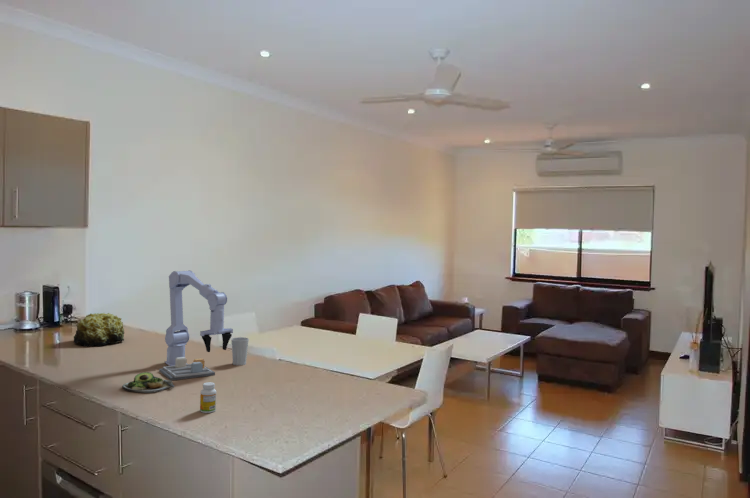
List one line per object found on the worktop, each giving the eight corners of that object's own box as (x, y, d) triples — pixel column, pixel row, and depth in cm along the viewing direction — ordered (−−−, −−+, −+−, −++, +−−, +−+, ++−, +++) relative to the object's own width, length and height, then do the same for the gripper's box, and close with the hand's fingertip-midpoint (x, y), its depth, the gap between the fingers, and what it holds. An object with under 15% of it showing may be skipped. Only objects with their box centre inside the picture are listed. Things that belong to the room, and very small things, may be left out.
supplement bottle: (201, 408, 200) (202, 381, 200) (217, 408, 200) (218, 381, 200) (198, 413, 194) (199, 385, 194) (214, 413, 195) (215, 385, 195)
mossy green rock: (109, 336, 318) (110, 309, 318) (132, 342, 304) (133, 314, 304) (64, 342, 298) (64, 313, 297) (87, 349, 284) (87, 318, 283)
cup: (243, 366, 262) (244, 341, 262) (227, 364, 264) (228, 339, 263) (250, 362, 270) (251, 338, 270) (235, 361, 271) (236, 336, 271)
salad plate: (186, 385, 229) (186, 374, 229) (157, 397, 212) (157, 385, 211) (147, 379, 234) (147, 368, 234) (115, 390, 217) (116, 379, 217)
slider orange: (193, 369, 248) (193, 358, 248) (201, 368, 251) (202, 358, 251) (195, 370, 246) (195, 360, 246) (204, 369, 248) (204, 359, 248)
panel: (159, 371, 247) (159, 366, 247) (201, 366, 258) (201, 362, 258) (171, 380, 233) (171, 376, 233) (215, 375, 244) (215, 370, 244)
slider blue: (190, 373, 242) (191, 362, 242) (199, 371, 244) (200, 361, 244) (193, 374, 239) (193, 364, 239) (202, 373, 242) (202, 363, 242)
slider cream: (175, 367, 250) (175, 357, 249) (184, 366, 252) (184, 356, 252) (177, 369, 247) (177, 358, 247) (186, 368, 250) (186, 358, 249)
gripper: (205, 322, 238) (204, 354, 239) (236, 319, 248) (235, 350, 248) (198, 320, 244) (197, 351, 244) (228, 317, 253) (228, 347, 254)
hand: (216, 350), depth 246 cm, fingers open, 7 cm apart
